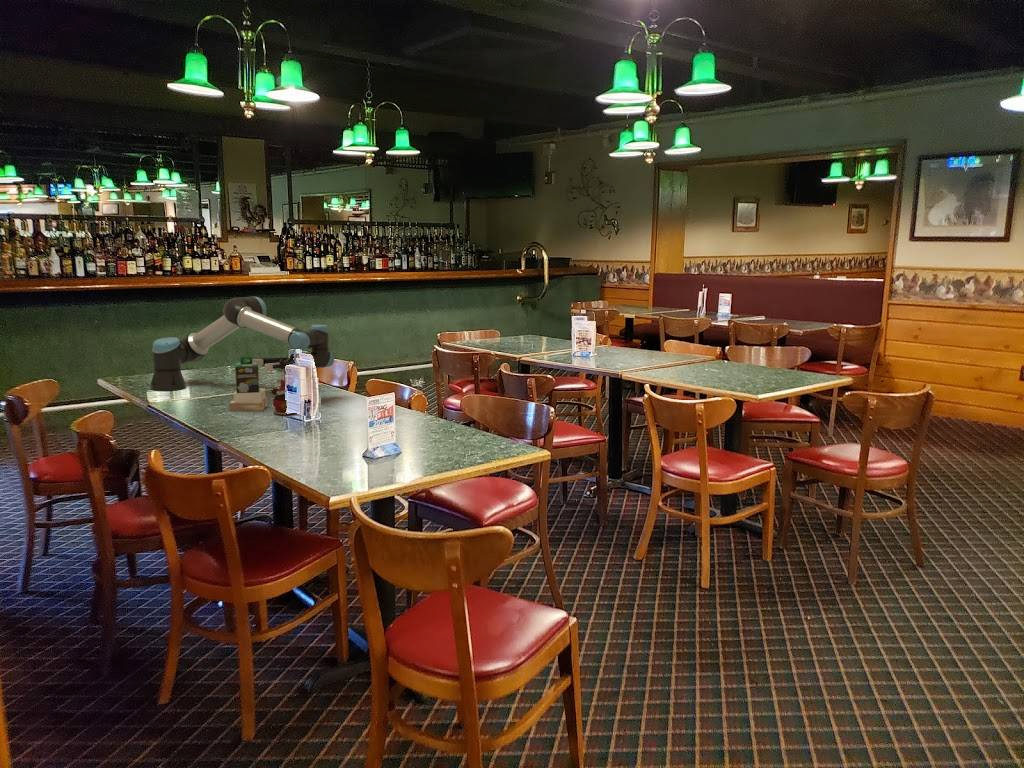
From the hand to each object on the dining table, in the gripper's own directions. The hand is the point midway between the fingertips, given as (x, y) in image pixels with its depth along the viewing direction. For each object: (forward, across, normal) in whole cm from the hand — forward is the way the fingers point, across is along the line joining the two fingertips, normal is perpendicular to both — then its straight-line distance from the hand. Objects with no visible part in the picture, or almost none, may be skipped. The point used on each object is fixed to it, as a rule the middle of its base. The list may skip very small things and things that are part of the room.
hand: (256, 365), depth 313 cm
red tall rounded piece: (-2, -19, -18) cm, 26 cm away
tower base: (+4, 0, -19) cm, 19 cm away
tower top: (+4, 0, -15) cm, 15 cm away
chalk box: (+4, 0, -11) cm, 12 cm away
